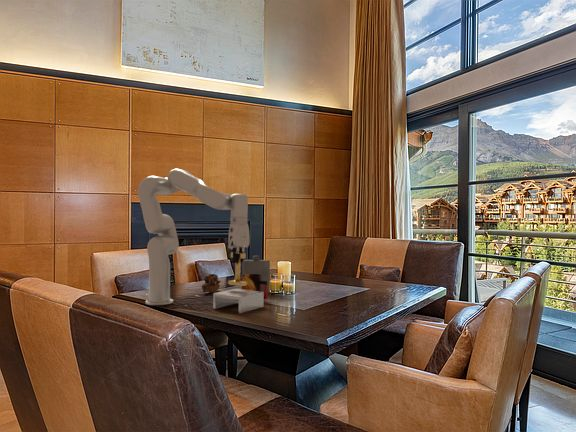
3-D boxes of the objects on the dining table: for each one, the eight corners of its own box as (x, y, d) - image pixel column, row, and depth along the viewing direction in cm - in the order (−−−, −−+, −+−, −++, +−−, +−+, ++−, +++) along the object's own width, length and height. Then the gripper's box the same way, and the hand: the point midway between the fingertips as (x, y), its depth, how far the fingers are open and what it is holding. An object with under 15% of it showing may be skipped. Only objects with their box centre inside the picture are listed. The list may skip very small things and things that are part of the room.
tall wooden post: (241, 286, 185) (242, 253, 185) (228, 284, 190) (229, 252, 190) (246, 285, 188) (247, 253, 188) (233, 283, 192) (234, 252, 192)
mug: (266, 302, 201) (266, 277, 202) (239, 300, 204) (239, 276, 204) (270, 298, 211) (271, 274, 211) (244, 297, 213) (244, 273, 213)
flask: (241, 293, 224) (241, 256, 224) (242, 291, 229) (243, 255, 230) (269, 293, 223) (269, 256, 223) (269, 291, 229) (270, 255, 229)
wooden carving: (208, 295, 218) (208, 276, 218) (200, 294, 219) (200, 275, 219) (222, 290, 234) (222, 272, 234) (214, 289, 235) (214, 271, 235)
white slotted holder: (213, 308, 186) (213, 293, 186) (236, 302, 200) (236, 288, 200) (240, 313, 177) (240, 297, 177) (263, 306, 191) (263, 291, 191)
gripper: (233, 221, 180) (232, 264, 180) (256, 221, 193) (255, 261, 193) (220, 221, 184) (219, 262, 184) (244, 221, 198) (243, 260, 198)
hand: (238, 261), depth 189 cm, fingers closed on tall wooden post, 2 cm apart
